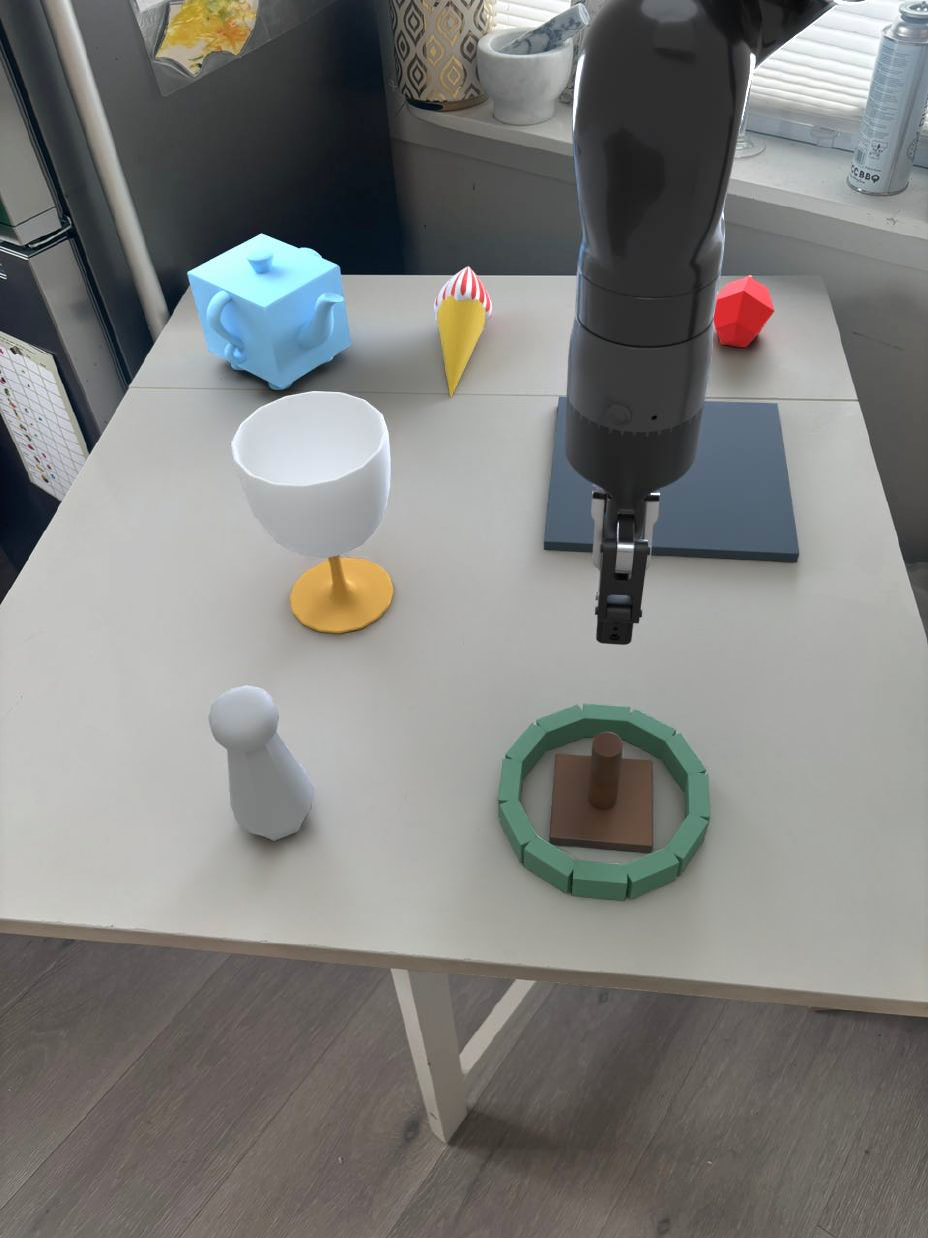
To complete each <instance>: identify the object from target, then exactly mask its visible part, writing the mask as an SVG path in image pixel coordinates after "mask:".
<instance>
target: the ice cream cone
mask: <svg viewBox="0 0 928 1238" xmlns="http://www.w3.org/2000/svg"><path fill="white" fill-rule="evenodd" d="M433 310H434V320H435V322H436V323H437V326H438V332H439V339H440V344H441V351H442V357H443V363H444V369H445V375H446V381H447V387H448V394H449V399H450V400H451V399H452V397H453V395H454V393H455V391H456V388H457V386H458V384H459V382H460V380H461V377H462V376H463V374H464V371H465V369H466V368H467V364H468V363H469V360H470V358H471V356H472V354H473V351H474V350H475V347H476V345H477V343H478V341H479V339H480V337H481V335H482V332H483V331H484V329H485V328H486V327H487V326H488V324H489V322H490V321H491V319H492V316H493V307H492V300H491V297H490V295H489V293H488V291H487V288H486V287H485V285H484V283H483V282H482V281H481V279H480V278H479V277H478V275H477V274H476V272H475V271H474V270H473V269H472V268H471V267H470V266H469V265H468V266H466V267H464V268H462V269H461V270H460V271H458V272H457V273H455V274H454V275H453V276H452V277H451V278H449V280H447V281H446V283H444V284H443V285H442V287H441V289H440V290H439V292H438V293H437V295H436V297H435V301H434V303H433Z"/></svg>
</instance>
